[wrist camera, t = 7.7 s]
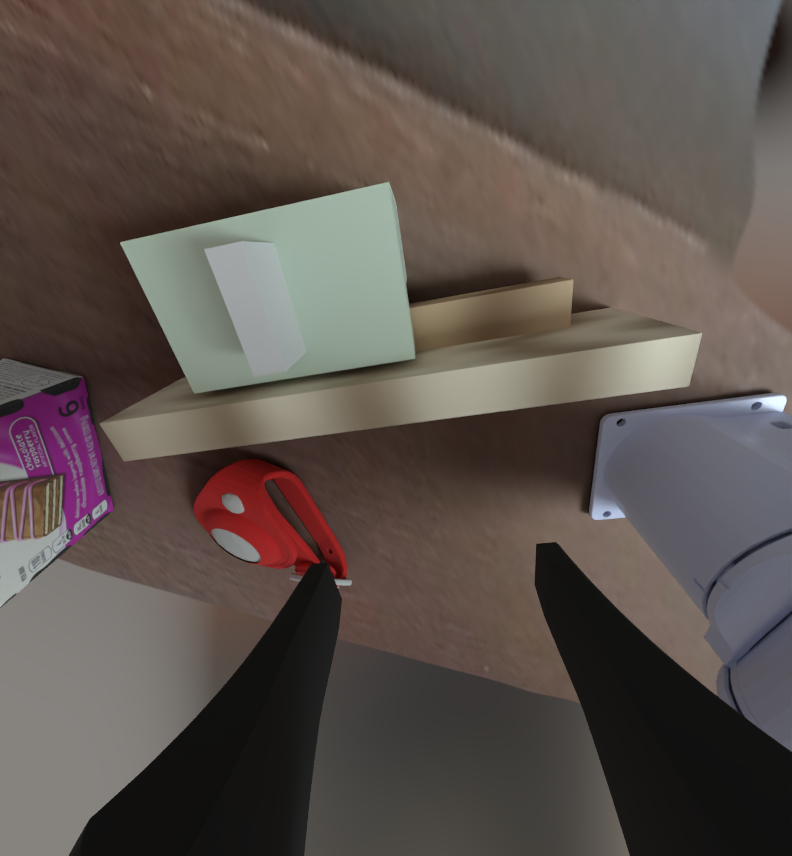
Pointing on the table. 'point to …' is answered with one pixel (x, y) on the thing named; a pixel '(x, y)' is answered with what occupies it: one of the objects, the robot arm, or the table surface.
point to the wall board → (430, 375)
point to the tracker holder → (266, 519)
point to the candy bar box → (45, 470)
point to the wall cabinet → (281, 290)
